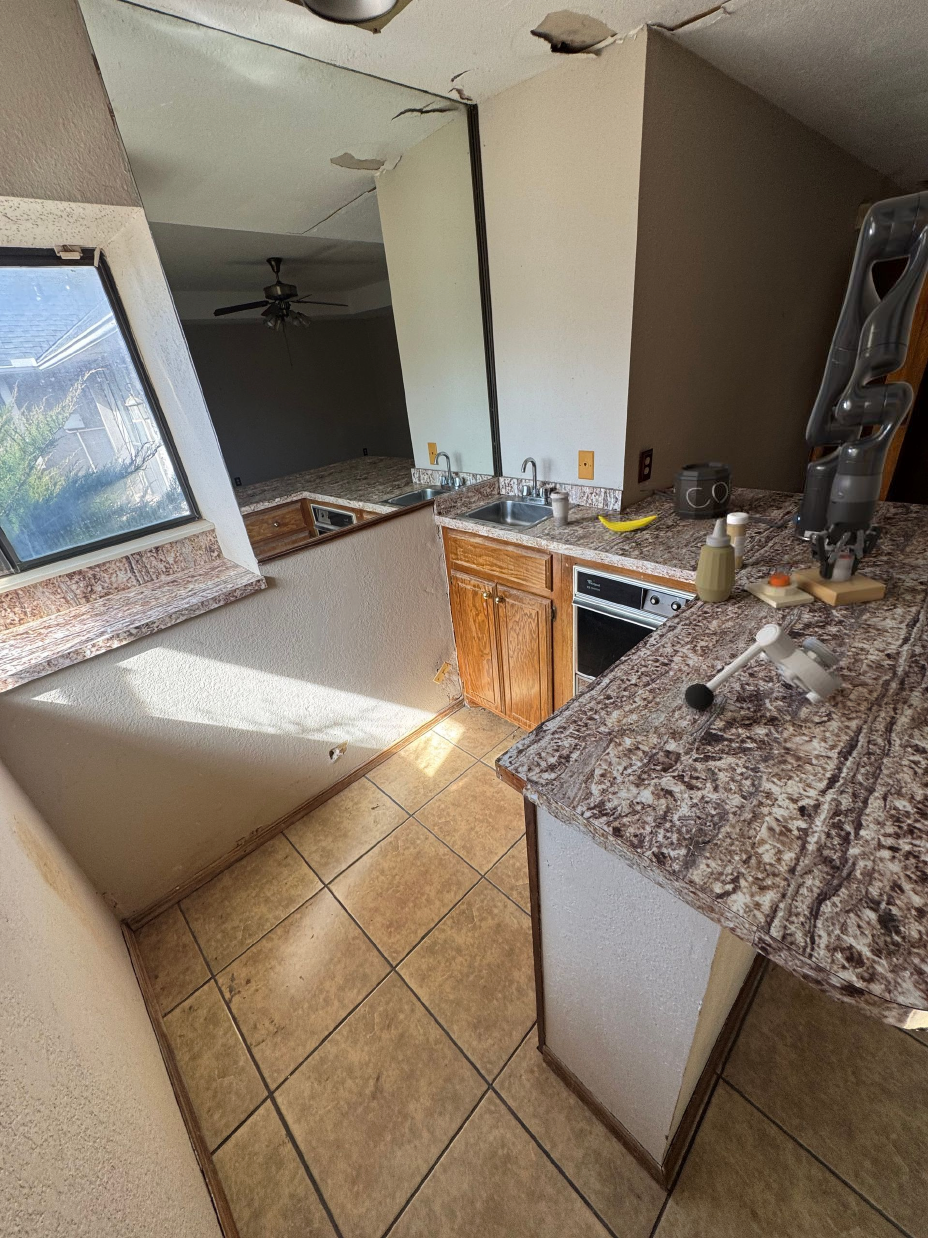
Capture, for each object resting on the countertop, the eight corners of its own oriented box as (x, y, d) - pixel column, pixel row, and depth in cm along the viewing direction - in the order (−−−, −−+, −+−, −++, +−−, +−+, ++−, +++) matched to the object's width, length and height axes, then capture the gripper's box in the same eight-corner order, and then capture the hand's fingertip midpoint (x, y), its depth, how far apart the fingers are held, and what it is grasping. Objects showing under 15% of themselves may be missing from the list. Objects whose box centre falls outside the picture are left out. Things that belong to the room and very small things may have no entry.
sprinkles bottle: (719, 564, 124) (723, 513, 118) (737, 562, 124) (742, 510, 118) (727, 570, 120) (733, 517, 114) (746, 568, 119) (752, 515, 114)
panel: (790, 583, 109) (792, 570, 107) (833, 576, 109) (836, 563, 107) (833, 606, 97) (836, 592, 96) (882, 599, 97) (886, 584, 95)
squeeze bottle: (731, 590, 110) (739, 513, 102) (736, 605, 103) (745, 524, 95) (692, 590, 113) (697, 515, 105) (695, 605, 106) (700, 526, 98)
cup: (573, 522, 177) (572, 489, 172) (567, 527, 173) (565, 494, 167) (555, 521, 181) (554, 489, 176) (548, 526, 176) (546, 494, 171)
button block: (744, 588, 110) (745, 576, 108) (778, 583, 110) (780, 571, 108) (775, 608, 100) (777, 595, 98) (813, 602, 100) (815, 589, 98)
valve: (722, 731, 83) (667, 681, 80) (820, 653, 78) (765, 596, 74) (757, 770, 74) (695, 716, 70) (870, 685, 68) (810, 621, 65)
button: (765, 582, 105) (766, 575, 104) (781, 579, 105) (782, 572, 104) (776, 588, 102) (777, 581, 101) (792, 585, 102) (794, 578, 101)
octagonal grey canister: (742, 515, 156) (747, 466, 149) (686, 523, 157) (688, 474, 151) (716, 503, 172) (720, 458, 165) (666, 510, 174) (667, 466, 167)
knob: (818, 575, 103) (823, 552, 101) (838, 572, 103) (843, 549, 101) (834, 583, 99) (839, 559, 97) (855, 579, 99) (860, 555, 97)
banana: (657, 531, 154) (658, 512, 151) (596, 534, 161) (596, 515, 158) (657, 528, 157) (657, 509, 154) (597, 531, 163) (597, 513, 160)
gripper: (873, 486, 97) (855, 565, 105) (804, 497, 97) (791, 575, 105) (907, 493, 90) (885, 577, 98) (832, 505, 90) (816, 588, 98)
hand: (837, 575), depth 101 cm, fingers closed on knob, 4 cm apart
